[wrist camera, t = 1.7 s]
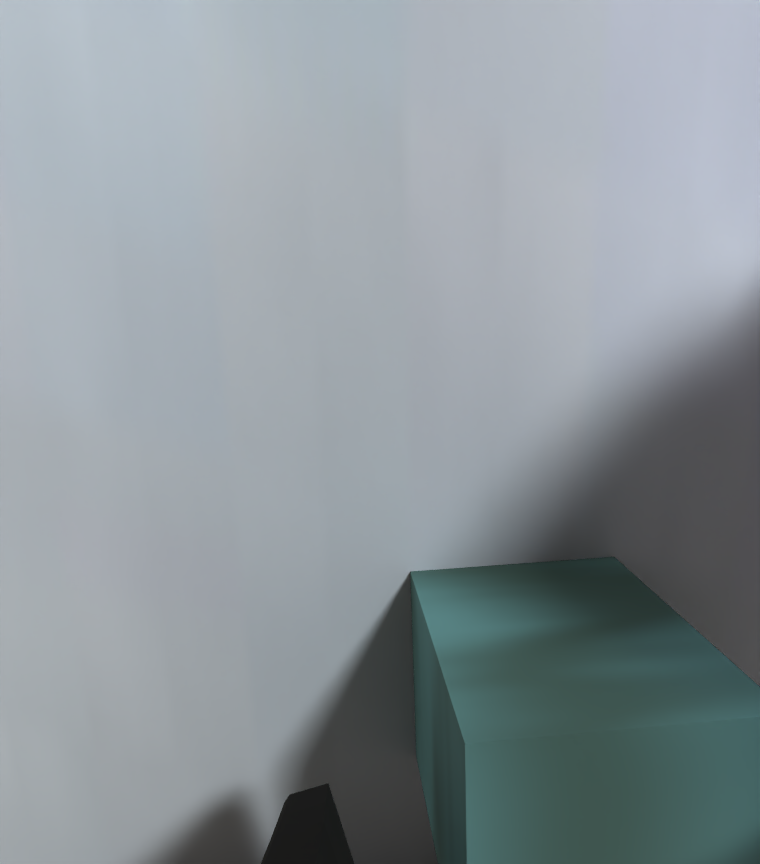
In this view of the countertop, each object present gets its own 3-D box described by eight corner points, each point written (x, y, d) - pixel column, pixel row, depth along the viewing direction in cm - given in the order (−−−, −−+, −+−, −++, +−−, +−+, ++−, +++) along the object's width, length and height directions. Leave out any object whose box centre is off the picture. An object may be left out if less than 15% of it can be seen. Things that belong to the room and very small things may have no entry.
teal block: (612, 555, 13) (789, 713, 8) (607, 737, 14) (764, 979, 9) (410, 570, 13) (465, 743, 8) (415, 754, 13) (469, 1017, 9)
